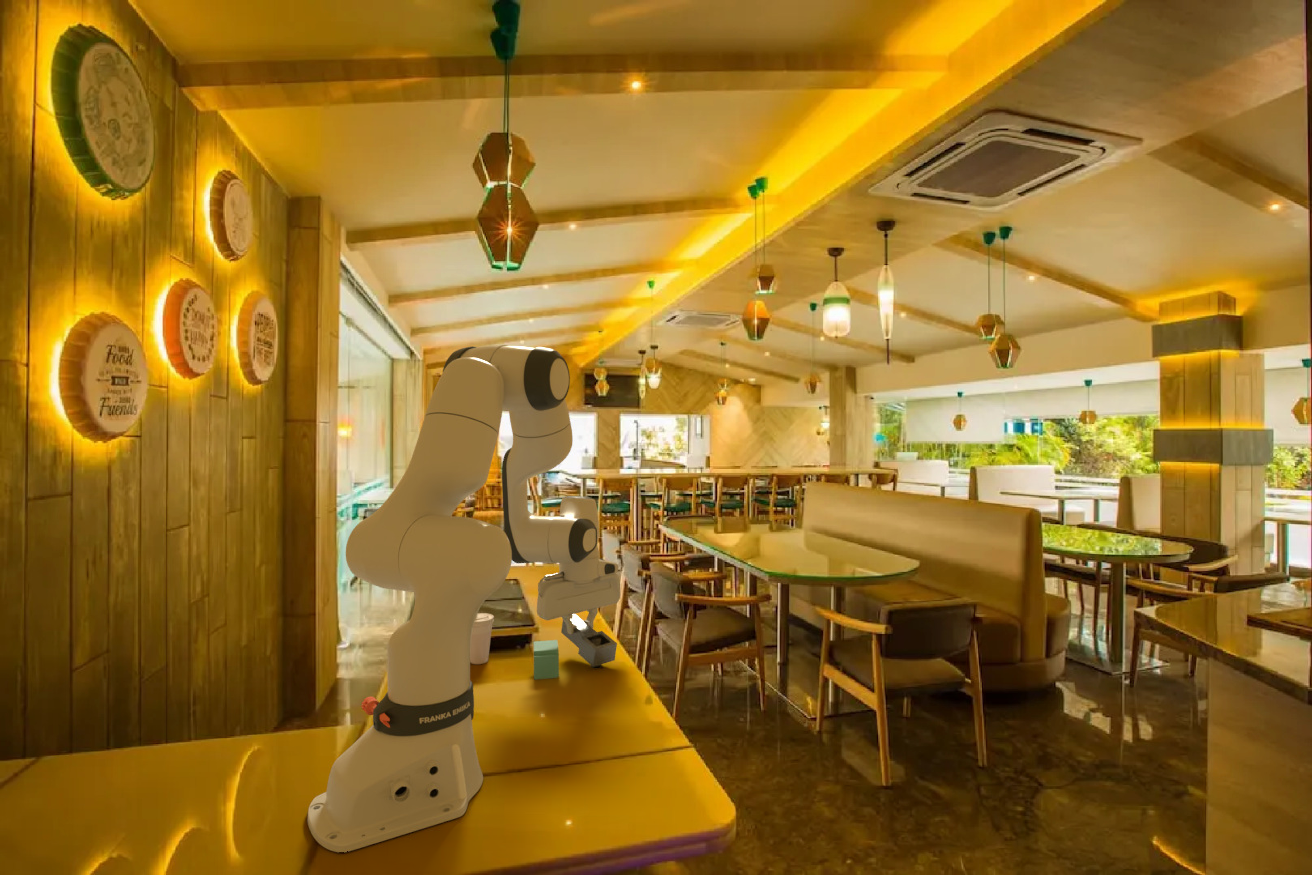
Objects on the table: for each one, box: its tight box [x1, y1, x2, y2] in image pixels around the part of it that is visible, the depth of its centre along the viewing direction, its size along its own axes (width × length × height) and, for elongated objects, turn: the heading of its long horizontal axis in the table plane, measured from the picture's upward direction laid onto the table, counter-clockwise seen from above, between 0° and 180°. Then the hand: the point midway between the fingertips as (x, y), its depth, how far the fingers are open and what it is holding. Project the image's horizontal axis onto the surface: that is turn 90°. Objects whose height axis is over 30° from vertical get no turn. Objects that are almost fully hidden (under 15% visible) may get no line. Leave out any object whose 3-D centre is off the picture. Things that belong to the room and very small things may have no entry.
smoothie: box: [470, 612, 495, 665], centre depth 139 cm, size 6×6×14 cm
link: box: [561, 613, 618, 667], centre depth 138 cm, size 15×6×4 cm, turn 41°
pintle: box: [590, 637, 602, 670], centre depth 135 cm, size 2×2×6 cm
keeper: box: [533, 639, 560, 680], centre depth 132 cm, size 5×7×5 cm
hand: (580, 630), depth 139 cm, fingers closed on link, 3 cm apart
